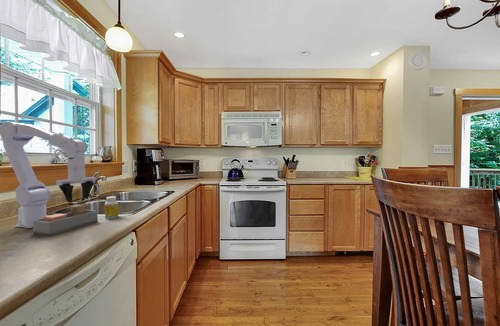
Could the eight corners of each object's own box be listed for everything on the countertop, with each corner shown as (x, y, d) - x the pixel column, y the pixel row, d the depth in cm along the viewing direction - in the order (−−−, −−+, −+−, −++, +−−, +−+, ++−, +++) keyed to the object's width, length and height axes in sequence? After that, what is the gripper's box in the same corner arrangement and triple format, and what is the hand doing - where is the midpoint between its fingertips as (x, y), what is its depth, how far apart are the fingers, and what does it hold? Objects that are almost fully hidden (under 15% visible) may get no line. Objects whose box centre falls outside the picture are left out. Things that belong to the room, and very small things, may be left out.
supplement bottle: (112, 219, 102) (111, 198, 102) (102, 218, 103) (101, 198, 103) (121, 216, 108) (120, 196, 107) (111, 215, 109) (110, 195, 108)
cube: (44, 229, 85) (43, 216, 85) (59, 225, 90) (58, 213, 90) (53, 230, 84) (52, 217, 84) (67, 226, 89) (67, 214, 88)
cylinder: (68, 223, 94) (68, 206, 93) (80, 220, 98) (79, 204, 98) (76, 224, 92) (75, 207, 92) (88, 220, 97) (87, 204, 96)
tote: (33, 233, 84) (32, 220, 84) (83, 220, 101) (82, 209, 101) (49, 236, 81) (48, 222, 81) (97, 221, 98) (97, 210, 98)
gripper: (64, 169, 86) (65, 204, 87) (99, 167, 100) (101, 197, 100) (52, 169, 89) (53, 203, 89) (88, 167, 102) (89, 196, 103)
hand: (77, 200), depth 95 cm, fingers open, 6 cm apart
